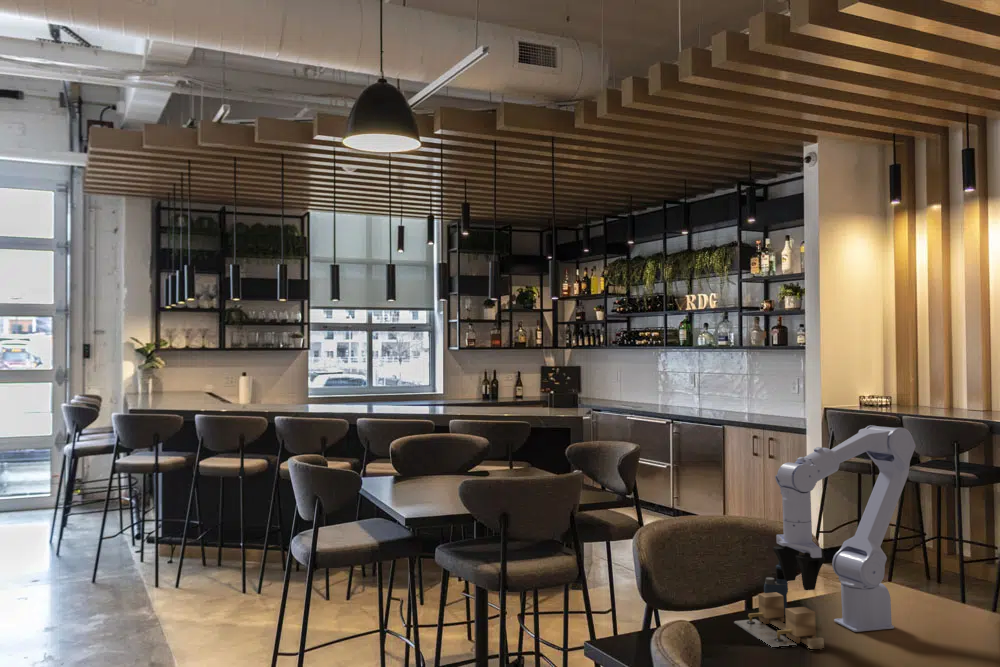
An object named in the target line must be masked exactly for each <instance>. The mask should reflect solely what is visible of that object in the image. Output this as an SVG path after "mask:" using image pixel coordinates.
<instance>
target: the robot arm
mask: <svg viewBox="0 0 1000 667" xmlns="http://www.w3.org/2000/svg"><path fill="white" fill-rule="evenodd" d="M915 449H916V442H915V441H914V437H913V435H912V434H911V432H910V431H909V430H908V429H907V428H905V427H889V426H877V425H875V424H874V425H873V424H872V425H871V424H870V425H867V426H866V427H865V428H861V429H859V430H858V432H857V433H856V434H854V435H852V436H851V437H849V438H848V439H846V440H844V441H843V442H841V443H839V444H837V445H836V446H834V447H833V448H831V449H830V448H828V447H820V446H817V447H816V448H815V447H814V448H813V452H811V453H809V454H807V455H806V456H800V457H797V459H796V460H795V462H789V461H788V462H785V463H783V464H782V465H780V467H779V468H778V470H777V474H776V475H775V476H774V478H775V481H776V484H777V486H778V487H779V489H780V495H781V497H782V498H781V499H782V502H781V503H782V523H783V525H782V526H783V531H782V532H783V534H776V536H775V538H776V544H777V545H778V546H773V548H772V550H773V552H774V553H775V555H776V557H777V559H778V563H779V562H780V565H781V568H782V572H783V575H784V579H785V581H787V582H791V581H792V582H793V581H794V582H795V581H796V578H797V568H798V567H799V569H800V574H801V581H802V582H801V584H802V587H803V590H804V591H814V590H815V589H816V586H817V581H818V576H819V573H820V571H821V568H822V567H823V565H824V563H825V562H826V557H825V556H824V555H822V554H823V553H822V548H821V547H820V546H818V545H817V544H816V543H815V542H814V541H813V522H812V521H813V520H812V496H811V494H812V492H811V491H813V490H814V489H815V487H816V485H817V483H818V482H819V481H821V480H823V479H825V478H827V477H828V476H829V477H830V475H833V474H834V473H837V472H838V470H839V469H840V464H842V463H843V462H846V461H848V460H850V459H853V458H854V457H857V456H860V455H861V454H864V453H866V454H867V455H868V457H869V458H870V459H871V461H872V462H873V463H874V464H875V465H876V466H877V468H878V470H879V474H878V475H877V478H876V481H875V484H874V486H873V488H872V491H871V494H870V496H869V498H868V501H867V504H866V506H865V509H864V512H863V513H862V516H861V519H860V521H859V523H858V526H857V528H856V531H855V533H854V535H853V536H852V537H850V538H847V539H846V540H844V541H843V543H842V544H841V547H840V548H839V550H838V551H836V552H835V554H834V555H833V558H832V562H831V563H832V564H831V566H832V569H833V572H834V573H835V575H836V576H838V581H839V582H840V593H841V614H842V615H841V618H834V619H833V621H834V622H835V623H836V624H839V625H841V626H842V627H844V628H846V629H848V630H850V631H851V632H854V633H860V632H869V631H883V630H891V629H893V630H894V629H895V626H894V624H893V622H892V603H891V602H892V600H891V595H890V594H891V593H890V591H889V590H888V588H887V586H886V585H885V584H884V583H882V581H883V580H884V577H885V567H886V564H887V563H886V562H887V559H888V557H887V555H886V553H885V552H884V551H883V549H882V547H881V546H882V543H883V540H884V539H885V536H886V533H887V531H888V527H889V526H890V523H891V520H892V518H893V515H894V512H895V510H896V507H897V504H898V503H899V500H900V497H901V495H902V492H903V489H904V487H905V485H906V482H907V480H908V477H909V472H910V465H911V464H910V463H911V460H912V457H913V454H914V451H915ZM800 552H801V553H803V554H800ZM799 554H800V555H799ZM797 565H798V567H797ZM892 624H893V625H892Z"/></svg>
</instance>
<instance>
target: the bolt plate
mask: <svg viewBox="0 0 1000 667" xmlns="http://www.w3.org/2000/svg"><path fill="white" fill-rule="evenodd" d="M733 624H734V625H737V626H738V627H740V629H741V628H742V630H743V631H746V632H747V633H749V634H750V635H752V636H753V637H755V638H756V639H758V640H759V639H760V641H761V640H762V641H763V642H762V641H761V642H762V643H764V642H765V643H766V644H765V643H764V644H765V645H767V644H768V645H767V646H769V645H770V646H771V647H770V646H769V647H770V648H772V647H779V646H789V645H796V646H797V643H795V642H793V641H792V640H790V639H788V638H787V637H786V636H785V635H783V634H780V639H778V638H777V630H774V629H773V628H771V627H769V625H766V624H764V623H762V622H761V621H759V619H756V618H754V619H753V618H752V621H749V619H741V620H735V621H733Z"/></svg>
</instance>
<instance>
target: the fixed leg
mask: <svg viewBox="0 0 1000 667" xmlns="http://www.w3.org/2000/svg"><path fill="white" fill-rule="evenodd" d="M757 594H758V598H757V599H758V612H751V613H747V614H748V615H747V617H748V618H749V619H748V620H749V621H752V619H753V618H757V617H758V621H760V622H761V623H762V622H763V624H764V625H766V624H769V619H768V618H776V619H777V620H779V621H781V622H785V616H784V597H783V595H781V594H779V593H777V592H773V593H764V592H763V593H762V592H761V593H757ZM769 625H770V624H769Z"/></svg>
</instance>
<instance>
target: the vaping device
mask: <svg viewBox="0 0 1000 667" xmlns="http://www.w3.org/2000/svg"><path fill="white" fill-rule="evenodd" d="M775 572H776V573H775V575H776V578H774V577H772V576H771V577H770V576H767V577H765V581H764V585H763V593H773V592H777V593H779V594H781V595H783V597H784V615H785V608H788V597H787V596H788V592H789V591H788V590H789V586H788V585H789V584H788V583H789V582H788V581H785V579H784V575H783V572H782V568H781V565H780V562H779V561H778V564H776V565H775ZM775 579H776V580H775Z"/></svg>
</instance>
